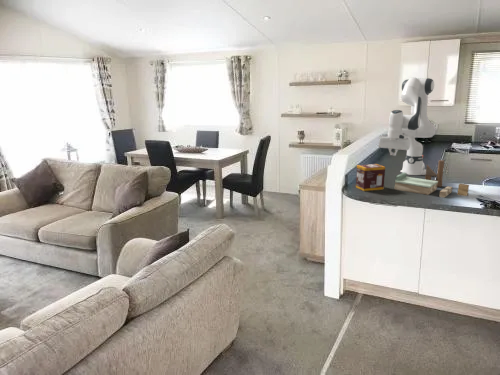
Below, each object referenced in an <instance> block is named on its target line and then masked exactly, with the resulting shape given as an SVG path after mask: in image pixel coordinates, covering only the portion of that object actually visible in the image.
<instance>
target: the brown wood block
mask: <svg viewBox="0 0 500 375" xmlns="http://www.w3.org/2000/svg"><path fill="white" fill-rule="evenodd" d="M469 187H470V184H467V183H459V184H458V188H457V193H456V194H457V195H458V196H463V197H467V196H468V195H469Z"/></svg>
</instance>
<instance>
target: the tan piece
mask: <svg viewBox="0 0 500 375" xmlns="http://www.w3.org/2000/svg"><path fill="white" fill-rule="evenodd" d="M394 190H395V191H396V190H397V191H403V192H407V193H415V194H420V195H427V196H429V195H431V194H433V193H434V192H436V191H437V190H438V187H437V184H435V185H434V186H432V187H430V188H428V187H422V186H415V185H409V184H403V183H396V182H394ZM452 192H453V186H449V185H447V186H446V187H444V188H443V189H441V190H440V191H439V196H438V197H439V198H442V199H443V198H446V197H447V196H449V195H450V194H451V193H452Z"/></svg>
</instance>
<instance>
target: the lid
mask: <svg viewBox="0 0 500 375" xmlns="http://www.w3.org/2000/svg"><path fill="white" fill-rule="evenodd" d="M407 175H408V174H407V173H403V172H400V174H397V175H396V176H395V180H394V183H403V184H409V185H415V186H422V187H428V188H430V187H432V186H434V185H435V184H437V183H438V181H432V180H433V179H431V180H426V179H425V178H417V177H413V176H412V177H409V176H407Z"/></svg>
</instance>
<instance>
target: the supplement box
mask: <svg viewBox="0 0 500 375" xmlns="http://www.w3.org/2000/svg"><path fill="white" fill-rule="evenodd" d="M355 175H356V177H355V179H356V180H355V188H356V189H358V190H361V191H363V192H369V191H381V190H384V188H385V176H386V166H383V165H381V164H378V163H371V164H370V163H369V164H357V165H356V174H355Z"/></svg>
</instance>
